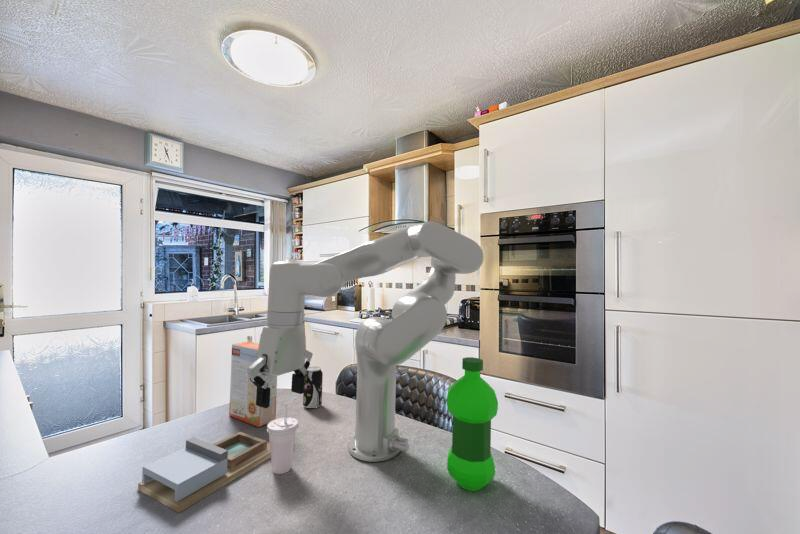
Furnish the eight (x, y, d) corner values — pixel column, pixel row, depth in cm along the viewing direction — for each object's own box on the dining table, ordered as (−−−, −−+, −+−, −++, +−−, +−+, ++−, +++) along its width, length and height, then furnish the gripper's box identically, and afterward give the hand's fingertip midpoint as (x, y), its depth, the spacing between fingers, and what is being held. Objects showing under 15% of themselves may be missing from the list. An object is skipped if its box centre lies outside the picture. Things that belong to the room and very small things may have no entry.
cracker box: (277, 420, 94) (279, 346, 95) (258, 428, 89) (260, 350, 90) (247, 409, 102) (249, 340, 102) (228, 415, 96) (230, 343, 97)
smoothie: (287, 480, 67) (289, 410, 68) (258, 475, 69) (261, 407, 69) (302, 462, 74) (304, 399, 74) (276, 458, 75) (278, 396, 75)
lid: (227, 473, 67) (227, 450, 67) (177, 501, 58) (178, 475, 58) (192, 458, 72) (193, 437, 72) (142, 482, 63) (143, 458, 63)
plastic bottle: (465, 505, 61) (468, 369, 62) (435, 474, 71) (438, 356, 71) (507, 491, 65) (509, 364, 66) (473, 463, 75) (475, 352, 76)
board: (280, 451, 78) (281, 438, 78) (178, 512, 58) (179, 495, 58) (242, 437, 84) (243, 425, 84) (138, 489, 63) (138, 473, 63)
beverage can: (319, 410, 102) (320, 371, 102) (300, 410, 102) (301, 370, 102) (323, 403, 108) (324, 365, 108) (305, 402, 108) (306, 365, 108)
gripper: (300, 314, 81) (297, 385, 81) (238, 321, 66) (233, 408, 65) (325, 317, 78) (321, 391, 77) (265, 325, 62) (260, 417, 62)
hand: (281, 399), depth 71 cm, fingers open, 9 cm apart
